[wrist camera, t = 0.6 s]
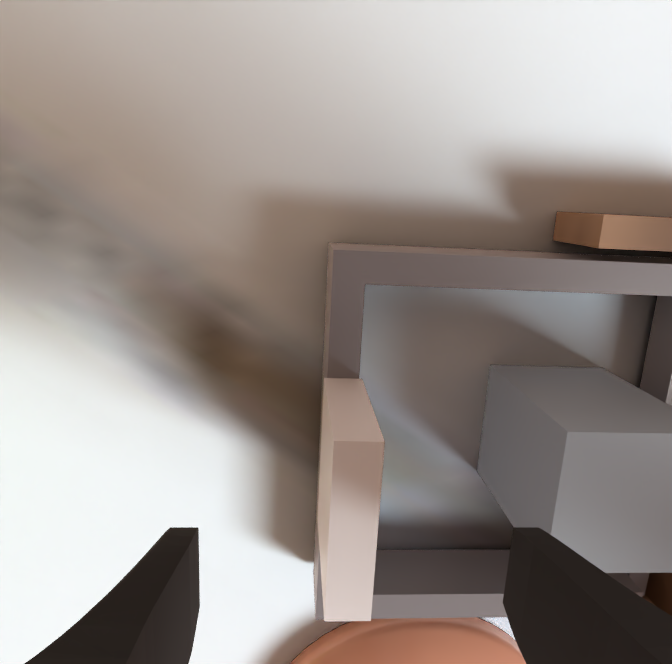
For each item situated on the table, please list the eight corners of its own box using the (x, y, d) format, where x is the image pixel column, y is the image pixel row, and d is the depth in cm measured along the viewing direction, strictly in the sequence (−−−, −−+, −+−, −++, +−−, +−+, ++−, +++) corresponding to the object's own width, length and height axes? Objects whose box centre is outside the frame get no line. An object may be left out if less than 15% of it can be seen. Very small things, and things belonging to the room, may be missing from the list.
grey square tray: (686, 258, 19) (895, 291, 13) (622, 570, 23) (761, 730, 16) (325, 241, 18) (342, 269, 12) (310, 571, 21) (317, 744, 15)
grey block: (601, 367, 21) (721, 434, 15) (583, 471, 22) (688, 572, 16) (489, 364, 20) (567, 431, 14) (476, 470, 21) (544, 573, 16)
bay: (727, 220, 19) (802, 224, 17) (645, 593, 23) (695, 650, 20) (557, 211, 19) (604, 214, 16) (501, 594, 23) (531, 652, 20)
